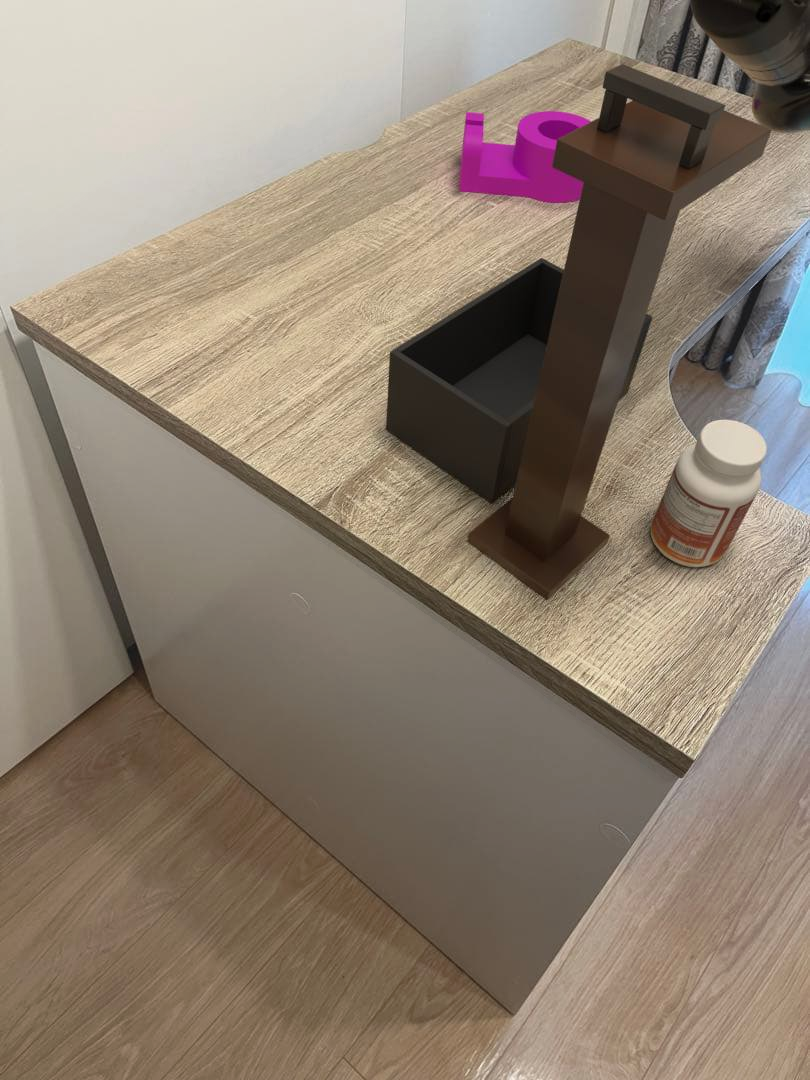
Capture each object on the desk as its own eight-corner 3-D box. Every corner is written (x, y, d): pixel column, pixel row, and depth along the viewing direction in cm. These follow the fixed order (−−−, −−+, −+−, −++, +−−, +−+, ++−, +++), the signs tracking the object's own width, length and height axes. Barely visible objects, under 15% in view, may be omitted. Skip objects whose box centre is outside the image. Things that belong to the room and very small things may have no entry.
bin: (526, 333, 86) (541, 257, 79) (627, 393, 81) (653, 316, 74) (385, 429, 76) (389, 351, 69) (491, 504, 71) (506, 427, 64)
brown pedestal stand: (550, 472, 74) (668, 28, 47) (628, 523, 71) (802, 77, 44) (467, 541, 68) (547, 83, 42) (547, 600, 65) (689, 144, 38)
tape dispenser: (587, 165, 109) (598, 115, 104) (592, 206, 103) (605, 154, 98) (461, 154, 109) (466, 103, 104) (459, 194, 103) (464, 141, 98)
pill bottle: (705, 507, 72) (753, 407, 64) (738, 564, 68) (794, 466, 60) (636, 516, 71) (676, 416, 63) (666, 575, 67) (713, 477, 59)
